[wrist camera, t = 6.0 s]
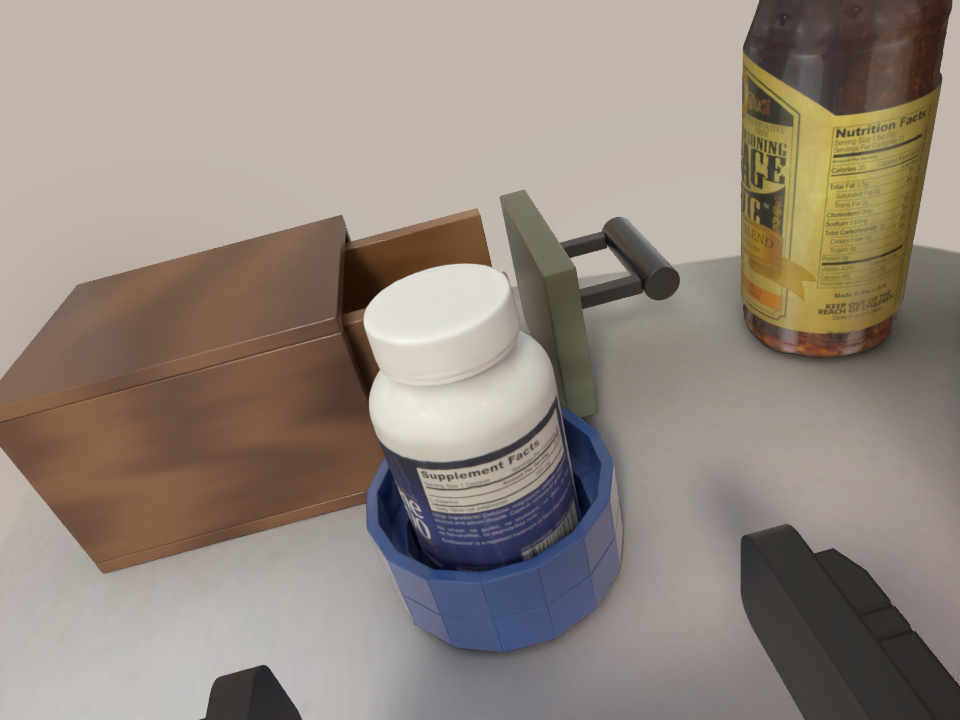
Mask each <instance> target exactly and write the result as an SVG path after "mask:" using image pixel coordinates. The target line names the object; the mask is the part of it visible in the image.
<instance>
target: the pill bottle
mask: <svg viewBox="0 0 960 720" xmlns="http://www.w3.org/2000/svg"><path fill="white" fill-rule="evenodd" d="M364 327H365V330H366V334H367V337H368V340H369V343H370V346H371V348H372V351H373V354H374V357H375V360H376V362H377V363H378V366H379V368H380V371H379V372H378V374H377V376H376V378H375V380H374V382H373V385H372V388H371V392H370V396H369V412H370V417H371V420H372V423H373V426H374V429H375V433H376V435H377V438H378V440H379V443H380V445H381V447H382V450H383V452H384V455H385V457H386V460H387V463H388V465H389V468H390V470H391V472H392V475H393V477H394V480H395V483H396V485H397V487H398V490H399V493H400V495H401V498H402V500H403V502H404V505H405V508H406V511H407V513H408V515H409V518H410V521H411V523H412V525H413V528H414V530H415V533H416V535H417V537H418V540H419V543H420V545H421V548H422V550H423V553H424V555H425V558H426V560H427V562H428V564H429V567H430V568H432V569H435V570H451V571H467V572H486V571H489V570H493V569H497V568H500V567H504V566H508V565H511V564H515V563H519V562H523V561H526V560H530V559H533V558H534V557H536V556H537V555H539V554H540V553H542V552H543V551H545V550H546V549H548V548H549V547H551V546H552V545H554V544H555V543H557V542H558V541H560V540H561V539H563V538H564V537H566V536H567V535H569V534H570V533H572V532H573V531H574V529H575V528H576V526H577V525H578V524H579V522H580V521H581V516H580V511H579V505H578V500H577V494H576V489H575V483H574V477H573V472H572V467H571V461H570V456H569V451H568V446H567V441H566V436H565V431H564V425H563V420H562V414H561V408H560V403H559V397H558V391H557V386H556V380H555V376H554V371H553V367H552V364H551V361H550V359H549V357H548V355H547V353H546V351H545V350H544V349H543V347H542V346H541V345H540V344H539V343H538V342H537V341H536V340H535V339H533V338H532V337H531V336H529V335H528V334H526V333H524V332H522V331H520V330H519V327H520V317H519V313H518V311H517V308H516V305H515V301H514V297H513V293H512V288H511V285H510V283H509V280H508V279H507V277H506V276H505V275H504V274H503V273H502V272H500V271H499V270H497V269H495V268H492V267H489V266H486V265H479V264H452V265H444V266H439V267H433V268H430V269H426V270H423V271H420V272H418V273H414V274H412V275H409V276H407V277H405V278H403V279H401V280H398V281H396V282H394V283H393V284H391V285H390V286H388V287H386V288H385V289H384V290H382V291H381V292H380V293H379V294H378V295H377V296H375V298H374V299H373V300H372V301H371V302H370V304H369V305H368V306H367V308H366V310H365V313H364Z"/></svg>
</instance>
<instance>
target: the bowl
mask: <svg viewBox="0 0 960 720" xmlns="http://www.w3.org/2000/svg"><path fill="white" fill-rule="evenodd" d="M560 408H561V407H560ZM561 414H562V420H563V425H564V431H565V436H566V441H567V446H568V451H569V456H570V461H571V467H572V472H573V477H574V483H575V489H576V494H577V500H578V505H579V511H580V516H581V521H580V522H579V524H578V525H577V526H576V528H575V529H574V531H573V532H572V533H570V534H569V535H567V536H566V537H564V538H563V539H561V540H560V541H558V542H557V543H555V544H554V545H552V546H551V547H549V548H548V549H546V550H545V551H543V552H542V553H540V554H539V555H537V556H536V557H534V558H533V559H530V560H526V561H523V562H519V563H515V564H511V565H508V566H504V567H500V568H497V569H493V570H489V571H486V572H467V571H451V570H435V569H432V568H430V567H429V564H428V562H427V560H426V558H425V555H424V553H423V550H422V548H421V545H420V543H419V540H418V537H417V535H416V533H415V530H414V528H413V525H412V523H411V521H410V518H409V515H408V513H407V511H406V508H405V505H404V502H403V500H402V498H401V495H400V493H399V490H398V487H397V485H396V483H395V480H394V477H393V475H392V472H391V470H390V468H389V465H388V463H387V460H386V457H385V458H384V459H383V461H382V462H381V464H380V467H379V469H378V471H377V473H376V475H375V477H374V479H373V481H372V483H371V485H370V487H369V489H368V491H367V494H366V511H367V531H368V533H369V535H370V537H371V540H372V542H373V544H374V546H375V549H376V551H377V553H378V555H379V557H380V560H381V562H382V564H383V566H384V569H385V571H386V573H387V575H388V577H389V580H390V582H391V584H392V586H393V589H394V591H395V593H396V595H397V596H398V598H399V600H400V601H401V603H402V604H403V606H404V608H405V609H406V611H407V612H408V614H409V615H410V617H411V619H412V620H413V622H414V623H415V624H416V625H417V626H419V627H420V628H422V629H424V630H426V631H427V632H429V633H431V634H433V635H434V636H436V637H438V638H440V639H441V640H443V641H445V642H447V643H448V644H450V645H452V646H455V647H457V648H467V649H477V650H486V651H496V652H508V651H512V650H515V649H519V648H523V647H526V646H530V645H534V644H537V643H541V642H545V641H548V640H552V639H555V638H557V637H558V636H559V635H561V634H562V633H564V632H565V631H566V630H568V629H569V628H571V627H572V626H573V625H575V624H576V623H577V622H579V621H580V620H582V619H583V618H584V617H586V616H587V615H588V614H590V613H591V612H593V611H594V610H595V609H596V608H597V607H598V605H599V604H600V602H601V600H602V599H603V597H604V595H605V594H606V592H607V590H608V589H609V587H610V585H611V584H612V582H613V581H614V579H615V577H616V576H617V574H618V572H619V568H620V565H621V552H622V540H623V527H622V520H621V512H620V505H619V497H618V490H617V483H616V476H615V468H614V462H613V460H612V458H611V456H610V454H609V451H608V449H607V447H606V445H605V443H604V441H603V439H602V437H601V435H600V433H599V432H598V430H596V429H595V428H594V427H592V426H591V425H589V424H588V423H587V422H585V421H584V420H583V419H581V418H580V417H578V416H577V415H576V414H574V413H573V412H572V411H570V410H568V409H565V408H561Z"/></svg>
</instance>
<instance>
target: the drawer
mask: <svg viewBox="0 0 960 720" xmlns="http://www.w3.org/2000/svg"><path fill="white" fill-rule="evenodd" d="M500 201H501V206H502V211H503V216H504V221H505V226H506V231H507V235H508V240H509V245H510V250H511V255H512V259H513V265H514V270H515V274H516V279H517V284H518V289H519V294H520V299H521V304H522V309H523V313H524V318H525V321H526V323H527V326H528V328H529V330H530V332H531V335H532V337H533V339H535V340H536V341H537V342H538V343H539V344H540V345H541V346H542V347H543V349H544V350H545V351H546V353H547V355H548V357H549V359H550V361H551V364H552V367H553V371H554V376H555V380H556V386H557V391H558V397H559V399H560V401H561V404H562V406H563V408H565V409H568V410H570V411H572V412H573V413H574V414H576V415H577V416H578V417H580V418H582V417H586V416H590V415H593V414H596V413H597V406H596V399H595V392H594V386H593V379H592V372H591V365H590V359H589V352H588V345H587V339H586V332H585V325H584V318H583V312H582V309H585V308H589V307H592V306H596V305H600V304H604V303H607V302H611V301H615V300H618V299H622V298H626V297H630V296H633V295H637V294H641V293H643V291H644V292H645V293H646V294H647V296H648V297H649V298H651V299H654V300H664V299H667V298H669V297H670V296H672V295H673V294H674V293H675V292H676V290H677V289H678V287H679V283H680V277H679V274H678V272H677V271H676V270H675V269H674V268H673V267H672V266H671V265H670V264H669V263H668V262H667V261H666V260H665V259H664V258H663V257H662V256H661V254H660V253H659V252H658V251H657V250H656V249H655V248H654V247H653V246H652V245H651V244H650V243H649V242H648V241H647V240H646V239H645V238H644V237H643V235H642V234H641V233H640V232H639V231H638V230H637V229H636V228H635V227H634V226H633V225H632V224H631V223H630V222H629V221H628V220H627V219H625V218H622V217H616V218H613V219H611V220H609V221H608V222H607V223H606V224H605V225H604V227H603V230H602V232H599V233H595V234H591V235H588V236H584V237H580V238H576V239H572V240H569V241H565V242H561V243H559V241H558V240H557V238H556V237H555V235H554V234H553V232H552V231H551V229H550V228H549V226H548V225H547V223H546V221H545V220H544V219H543V217H542V215H541V214H540V212H539V211H538V209H537V208H536V206H535V205H534V203H533V202H532V200H531V199H530V197H529V196H528V194H527V193H526V191H525V190H521V191H518V192H513V193H510V194H506V195H502V196H500ZM607 246H608V247H609V249H610V250H611V251H612V252H613V253H614V255H615V256H616V257H617V258H618V260H619V261H620V262H621V263H622V265H623V266H624V267H625V268H626V270H627V271H628V272H629V273H630V275H631V276H628V277H625V278H621V279H617V280H613V281H610V282H606V283H602V284H598V285H595V286H591V287H587V288H583V289H580V290H579V285H578V278H577V272H576V267H575V266H574V264H573V262H572V261H571V259H570V258H572V257H575V256H579V255H583V254H587V253H590V252H594V251H598V250H602V249H605V248H607ZM452 264H479V265H486V266H489V267H492V265H491V260H490V256H489V251H488V247H487V243H486V238H485V234H484V230H483V225H482V220H481V216H480V213H479V211H478V209H473V210H469V211H465V212H461V213H457V214H454V215H450V216H446V217H442V218H439V219H435V220H431V221H427V222H424V223H420V224H416V225H412V226H409V227H405V228H401V229H397V230H393V231H389V232H386V233H382V234H378V235H374V236H370V237H367V238H363V239H359V240H355V241H352V242H348V243H345V259H344V282H343V304H342V326H343V327H344V330H345V333H346V335H347V338H348V340H349V343H350V346H351V348H352V351H353V353H354V356H355V359H356V361H357V364H358V366H359V369H360V372H361V374H362V377H363V379H364V382H365V385H366V387H367V390H368V393H369V395H370V392H371V388H372V385H373V382H374V380H375V378H376V376H377V374H378V372H379V371H380V368H379V366H378V363H377V362H376V360H375V357H374V354H373V351H372V348H371V346H370V343H369V340H368V337H367V334H366V330H365V327H364V313H365V310H366V308H367V306H368V305H369V304H370V302H371V301H372V300H373V299H374V298H375V296H377V295H378V294H379V293H380V292H381V291H382V290H384V289H385V288H386V287H388V286H390V285H391V284H393V283H394V282H396V281H398V280H401V279H403V278H405V277H407V276H409V275H412V274H414V273H418V272H420V271H423V270H426V269H430V268H433V267H439V266H444V265H452ZM502 273H503V274H504V275H505V276H506V277H507V275H506V273H505V272H502ZM507 279H508V277H507ZM508 280H509V279H508ZM509 283H510V282H509ZM519 330H520V329H519Z"/></svg>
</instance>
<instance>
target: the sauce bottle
mask: <svg viewBox="0 0 960 720" xmlns="http://www.w3.org/2000/svg"><path fill="white" fill-rule="evenodd" d="M951 9H952V0H759V4H758V7H757V10H756V13H755V16H754V18H753V21H752V24H751V26H750V30H749V32H748V35H747V38H746V40H745V43H744V46H743V75H742V81H743V83H742V153H741V155H742V161H741V168H742V169H741V171H742V182H741V188H742V189H741V190H742V191H741V296H742V300H743V302H744V304H743V310H744V318H745V321H746V323H747V324H748V327H749V328H750V329H751V331H752V332H753V333H754V334H755V335H756V337H758V338H760V339H761V340H762V342H763V343H764V344H766V345H767V346H769V347H770V348H771V349H774V350H776V351H780V352H782V353H784V352H785V353H794V354H797V355H804V356H809V357H838V356H847V355H851V354H854V353H857V352H864V351H865V350H868V349H870V348H872V347H875V346H877V345H879V344H881V343H882V342H883V341H884V339H885V338H886V336H887V335H888V334H889V333H890V332H891V330H892V327H893V324H894V322H895V319H896V312H897V310H898V308H899V307H900V305H901V303H902V301H903V297H904V291H905V285H906V279H907V273H908V267H909V261H910V256H911V251H912V246H913V240H914V235H915V230H916V224H917V219H918V213H919V207H920V202H921V196H922V191H923V185H924V180H925V174H926V169H927V162H928V157H929V151H930V146H931V140H932V135H933V129H934V123H935V118H936V111H937V107H938V101H939V95H940V90H941V84H942V75H941V73H940V67H941V60H942V56H943V48H944V41H945V37H946V33H947V32H946V30H947V25H948V18H949V15H950V12H951Z"/></svg>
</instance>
